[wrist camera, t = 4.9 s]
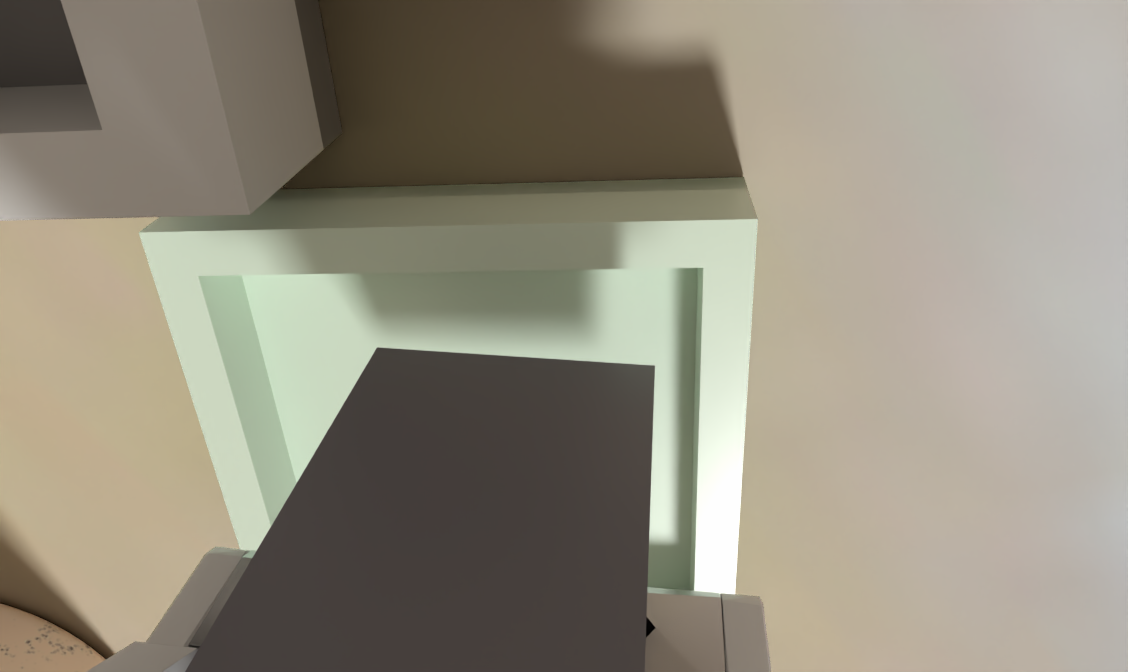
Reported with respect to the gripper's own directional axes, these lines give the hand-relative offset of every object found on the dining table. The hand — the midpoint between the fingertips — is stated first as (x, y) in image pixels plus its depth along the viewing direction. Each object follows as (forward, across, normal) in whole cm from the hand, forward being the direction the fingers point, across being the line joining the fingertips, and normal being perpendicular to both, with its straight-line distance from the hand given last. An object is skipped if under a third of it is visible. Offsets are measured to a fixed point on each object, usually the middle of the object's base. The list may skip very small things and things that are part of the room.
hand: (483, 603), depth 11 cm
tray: (+6, +1, +2) cm, 7 cm away
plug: (+3, 0, 0) cm, 3 cm away
